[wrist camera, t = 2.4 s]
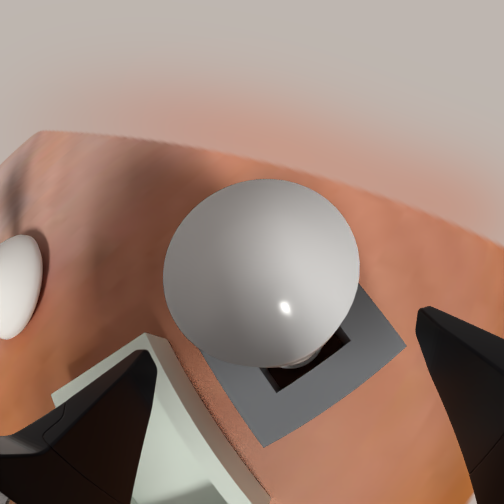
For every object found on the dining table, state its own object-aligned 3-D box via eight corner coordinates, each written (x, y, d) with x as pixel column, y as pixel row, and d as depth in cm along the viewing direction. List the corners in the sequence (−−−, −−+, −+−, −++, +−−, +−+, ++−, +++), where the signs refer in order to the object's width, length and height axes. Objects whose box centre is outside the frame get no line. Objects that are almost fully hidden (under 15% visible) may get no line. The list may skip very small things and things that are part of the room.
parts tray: (271, 497, 13) (264, 517, 10) (157, 533, 12) (138, 548, 9) (166, 338, 18) (144, 332, 16) (76, 395, 18) (50, 394, 15)
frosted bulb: (334, 344, 16) (399, 280, 5) (283, 380, 16) (224, 406, 4) (299, 296, 18) (279, 152, 6) (249, 330, 18) (138, 245, 6)
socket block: (391, 350, 16) (406, 346, 13) (270, 435, 15) (263, 447, 12) (307, 243, 19) (306, 222, 17) (196, 319, 19) (177, 310, 16)
